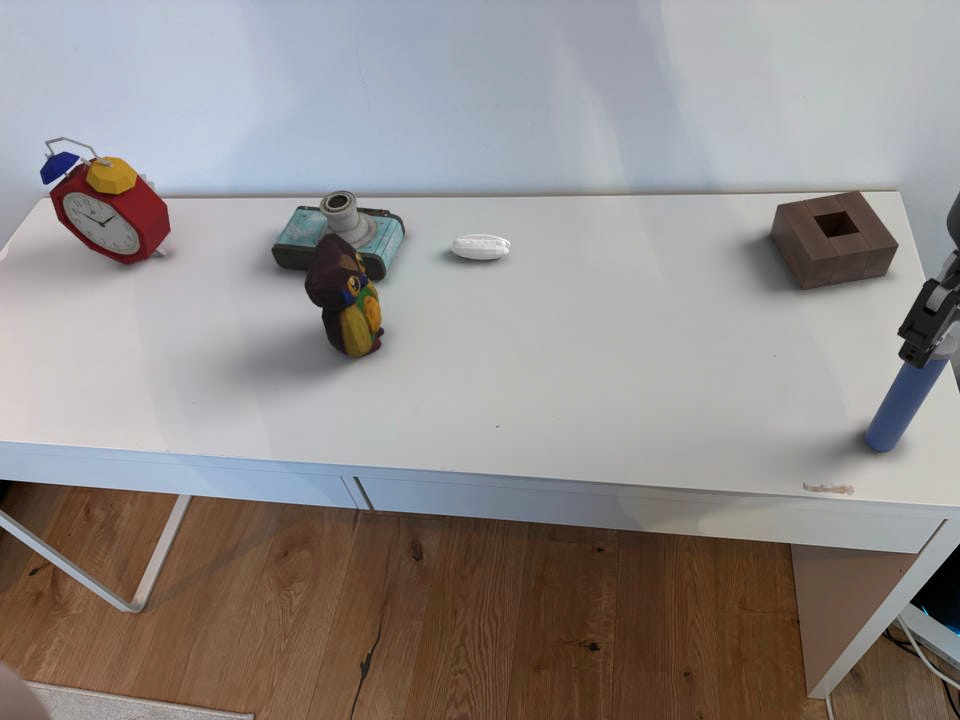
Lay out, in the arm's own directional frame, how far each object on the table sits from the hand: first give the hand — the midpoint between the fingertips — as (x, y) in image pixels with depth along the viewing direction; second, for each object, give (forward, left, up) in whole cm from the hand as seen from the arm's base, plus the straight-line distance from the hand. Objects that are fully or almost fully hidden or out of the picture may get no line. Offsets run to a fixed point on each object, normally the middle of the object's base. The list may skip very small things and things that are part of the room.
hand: (941, 334), depth 62 cm
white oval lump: (+37, -38, -17) cm, 56 cm away
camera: (+56, -44, -17) cm, 73 cm away
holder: (-6, -27, -17) cm, 32 cm away
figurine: (+54, -26, -17) cm, 62 cm away
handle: (0, 0, -17) cm, 17 cm away
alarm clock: (+87, -53, -17) cm, 103 cm away
